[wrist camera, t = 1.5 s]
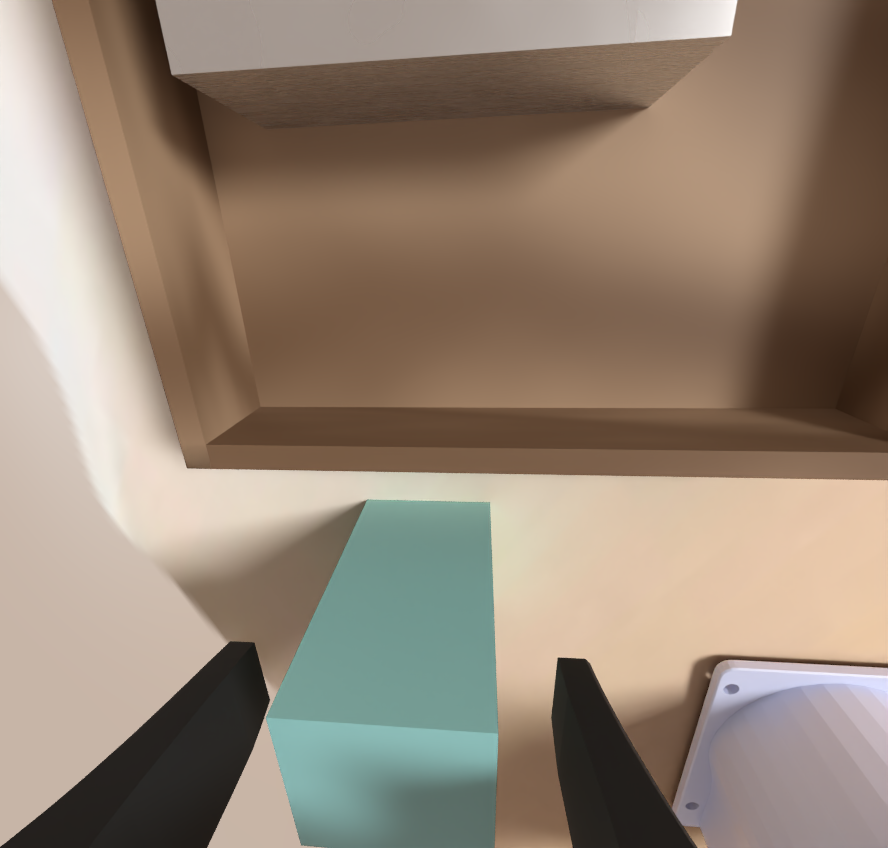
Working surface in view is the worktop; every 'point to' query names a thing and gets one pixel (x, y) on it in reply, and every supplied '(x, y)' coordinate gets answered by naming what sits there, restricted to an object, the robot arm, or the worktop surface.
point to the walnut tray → (518, 265)
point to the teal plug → (397, 687)
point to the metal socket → (435, 55)
